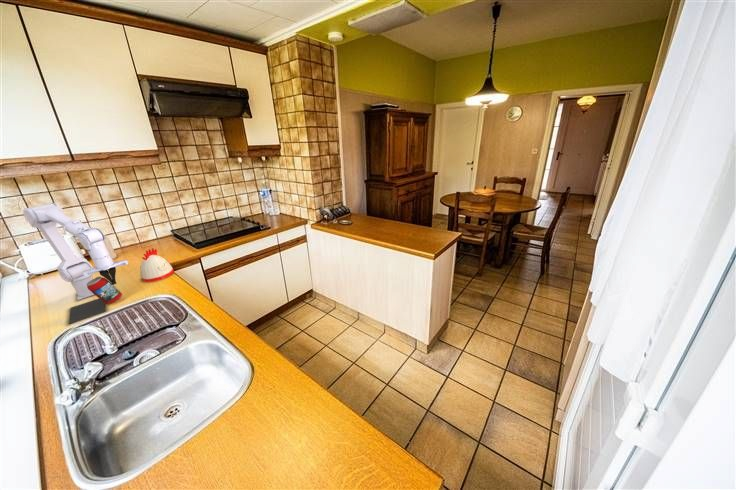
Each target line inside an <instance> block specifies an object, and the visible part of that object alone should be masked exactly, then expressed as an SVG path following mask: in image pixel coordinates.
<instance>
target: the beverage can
mask: <svg viewBox="0 0 736 490" xmlns="http://www.w3.org/2000/svg"><path fill="white" fill-rule="evenodd" d="M86 285H87V288H88V289H89V290H90V291H91V292H92V293H93V294H94V295H93V296H96V297H97V299H100V300H102V301H103V302H104V303H105V305H111V304H114V303H116V302H118V301H119V300H120V299H121V298H122V296H123V292H121V291H120V289H118V288H117V286H115V284H114V285H112V284H111V282H110V281H109V280H107V279H106V278H105V277H103V276H96V277H93V279H92V280H91V281H89V282H88V283H87V284H86Z"/></svg>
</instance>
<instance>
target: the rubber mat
mask: <svg viewBox="0 0 736 490" xmlns="http://www.w3.org/2000/svg"><path fill="white" fill-rule="evenodd" d="M102 313H106V304H105V303H104V302H103V301H102V300H100V299H99V298H97V299H93V300H89V301H87V302H85V303H84V302H83V303H82V304H78V305H75V306H72V307H70V310H69V318H68V325H71V324H72V325H73V324H74V323H77V322H80V321H83V320H87V319H88V318H92V317H94V316H98V315H100V314H102Z"/></svg>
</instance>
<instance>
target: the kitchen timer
mask: <svg viewBox="0 0 736 490" xmlns="http://www.w3.org/2000/svg"><path fill="white" fill-rule="evenodd" d="M141 259H142V262H141V263H140V266H139V273H140V279H141V280H142V282H144V283H152V282H157V281H160V280H163V279H166V278H168V277H170V276H171V275H172V274H173V273H174V272H175V271H174V268H173V266H172V265H171V264H170V262H168V261H167V259H165V258H164V257H162V256H161V255H158V249H157V248H155V249H154V248H152V247H151V249H149V248H148V250H145V253H143V256H141Z"/></svg>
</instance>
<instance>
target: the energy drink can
mask: <svg viewBox="0 0 736 490" xmlns="http://www.w3.org/2000/svg"><path fill="white" fill-rule="evenodd" d="M104 236H105V239H104V240H102V241H103V242H104V244H105V246H106V248H107V250H108V252H109V254H110V256H111V258H112V260H113V261H114V260H116V259H117V254H116V252H115V250H114V247H113V245H112V243H111V241H110V238H109V237H108V236H107V235H104Z"/></svg>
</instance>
